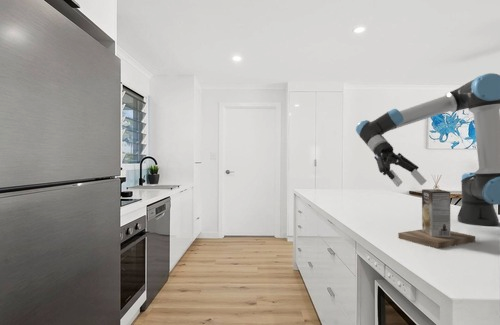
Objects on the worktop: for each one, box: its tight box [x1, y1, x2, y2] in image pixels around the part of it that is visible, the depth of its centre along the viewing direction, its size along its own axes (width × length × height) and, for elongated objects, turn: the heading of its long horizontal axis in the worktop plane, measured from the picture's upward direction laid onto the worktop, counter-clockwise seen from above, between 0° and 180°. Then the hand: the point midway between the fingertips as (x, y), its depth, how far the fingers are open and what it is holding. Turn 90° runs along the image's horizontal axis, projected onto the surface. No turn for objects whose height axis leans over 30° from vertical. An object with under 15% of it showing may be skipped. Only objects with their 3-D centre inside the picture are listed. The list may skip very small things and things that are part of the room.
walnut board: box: [397, 228, 476, 250], centre depth 107 cm, size 20×15×2 cm
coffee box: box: [421, 188, 451, 237], centre depth 107 cm, size 9×6×16 cm
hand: (412, 183), depth 115 cm, fingers open, 13 cm apart
